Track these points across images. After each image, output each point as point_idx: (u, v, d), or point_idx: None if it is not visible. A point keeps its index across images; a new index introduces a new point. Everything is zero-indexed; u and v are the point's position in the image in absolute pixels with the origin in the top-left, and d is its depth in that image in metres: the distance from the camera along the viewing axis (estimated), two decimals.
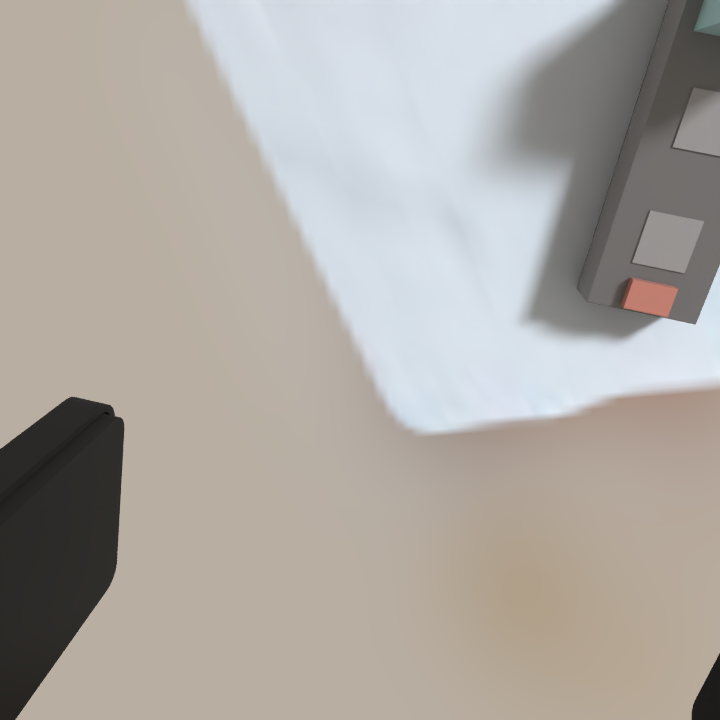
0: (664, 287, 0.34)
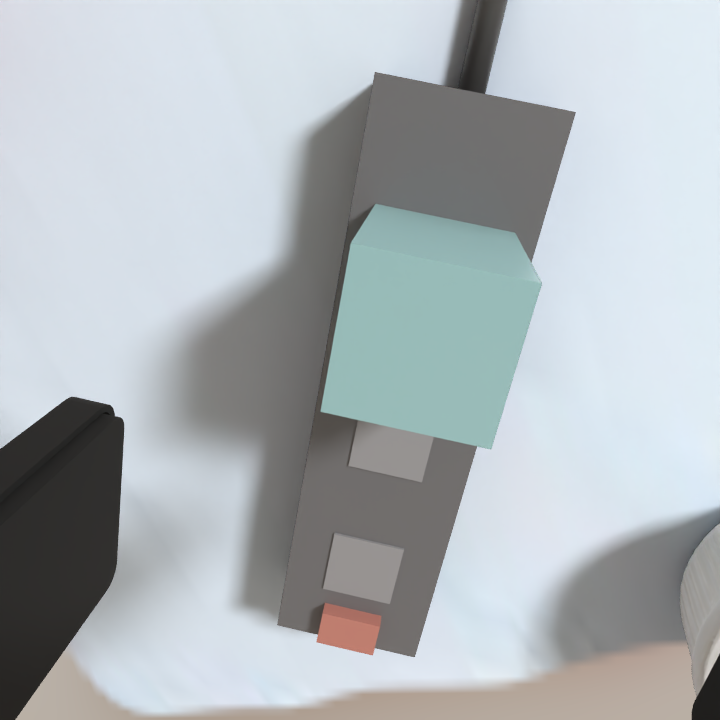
0: (362, 623, 0.26)
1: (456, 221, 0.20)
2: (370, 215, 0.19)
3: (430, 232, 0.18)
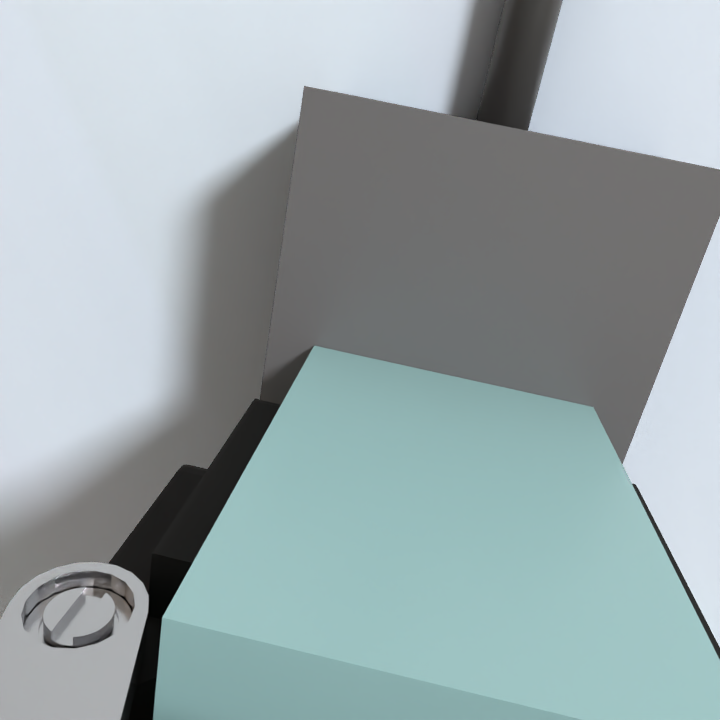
0: None
1: (475, 385, 0.10)
2: (287, 401, 0.08)
3: (419, 458, 0.08)
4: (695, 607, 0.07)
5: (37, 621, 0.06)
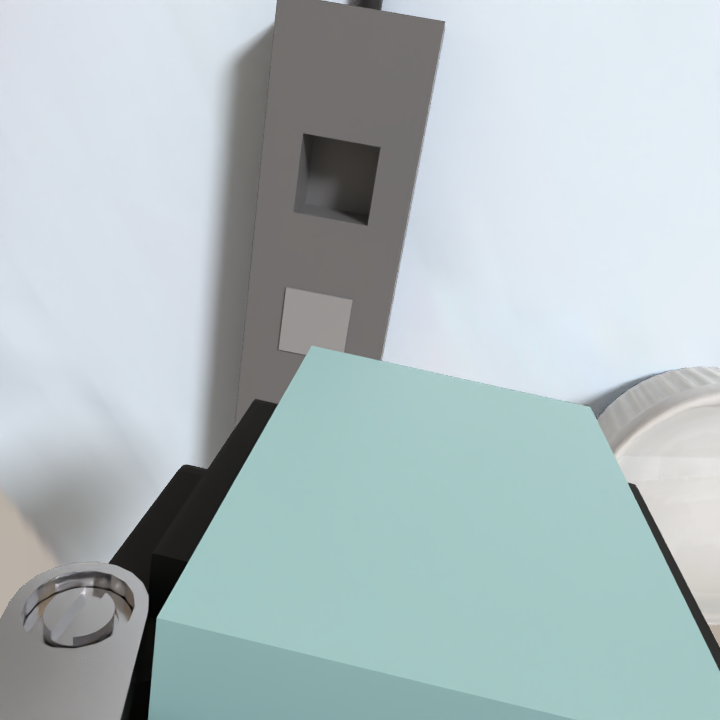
0: None
1: (472, 385, 0.10)
2: (284, 401, 0.08)
3: (416, 458, 0.08)
4: (695, 607, 0.07)
5: (37, 621, 0.06)
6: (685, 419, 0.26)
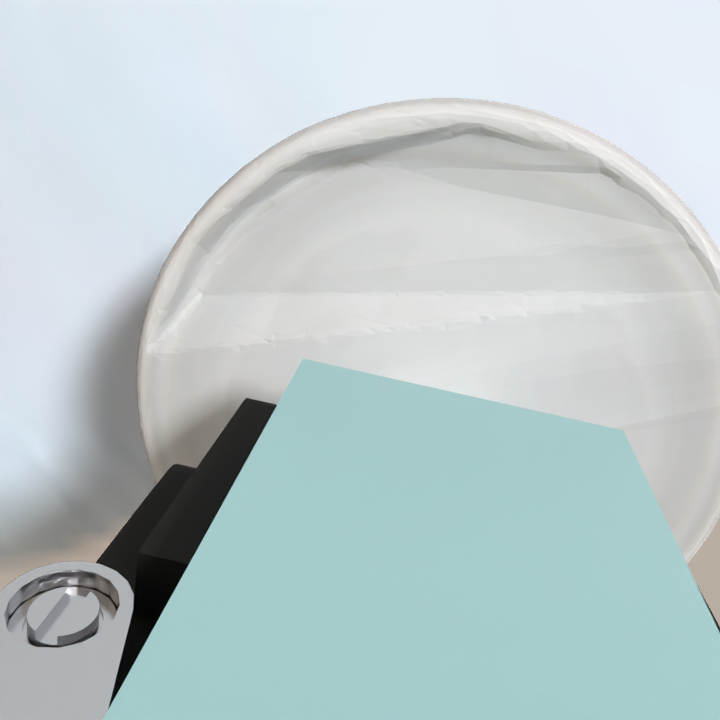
0: None
1: (487, 405, 0.09)
2: (265, 435, 0.07)
3: (420, 509, 0.06)
4: None
5: (21, 621, 0.06)
6: (318, 201, 0.11)
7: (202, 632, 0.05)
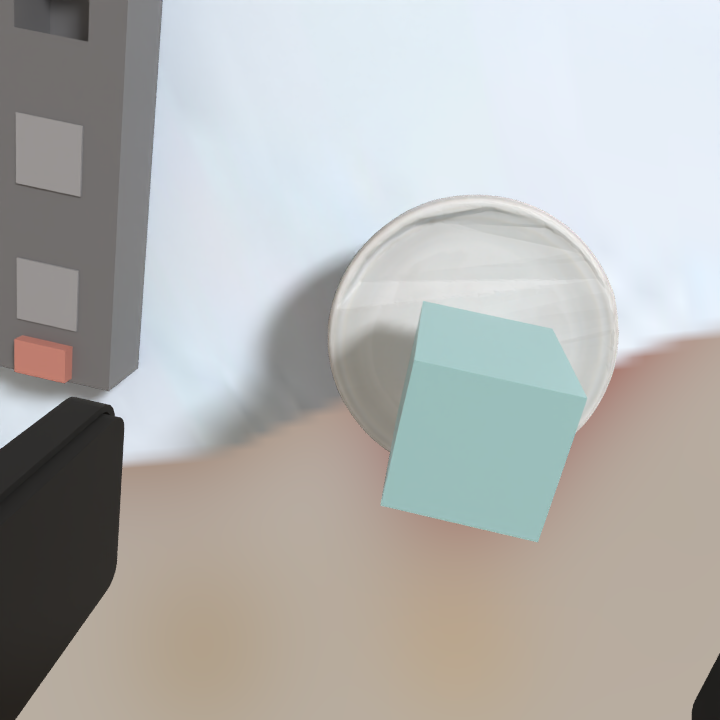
0: (49, 348, 0.29)
1: (498, 318, 0.22)
2: (422, 318, 0.20)
3: (478, 337, 0.20)
4: None
5: None
6: (419, 238, 0.24)
7: (428, 348, 0.18)
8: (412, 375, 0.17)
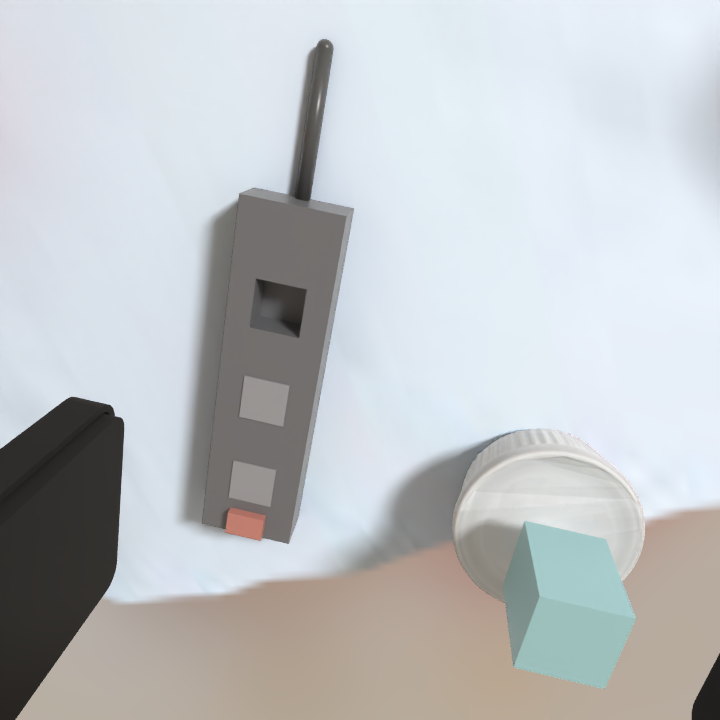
0: (252, 519, 0.42)
1: (572, 533, 0.35)
2: (530, 544, 0.34)
3: (566, 561, 0.33)
4: None
5: None
6: (516, 468, 0.38)
7: (543, 581, 0.31)
8: (537, 603, 0.30)
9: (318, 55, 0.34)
